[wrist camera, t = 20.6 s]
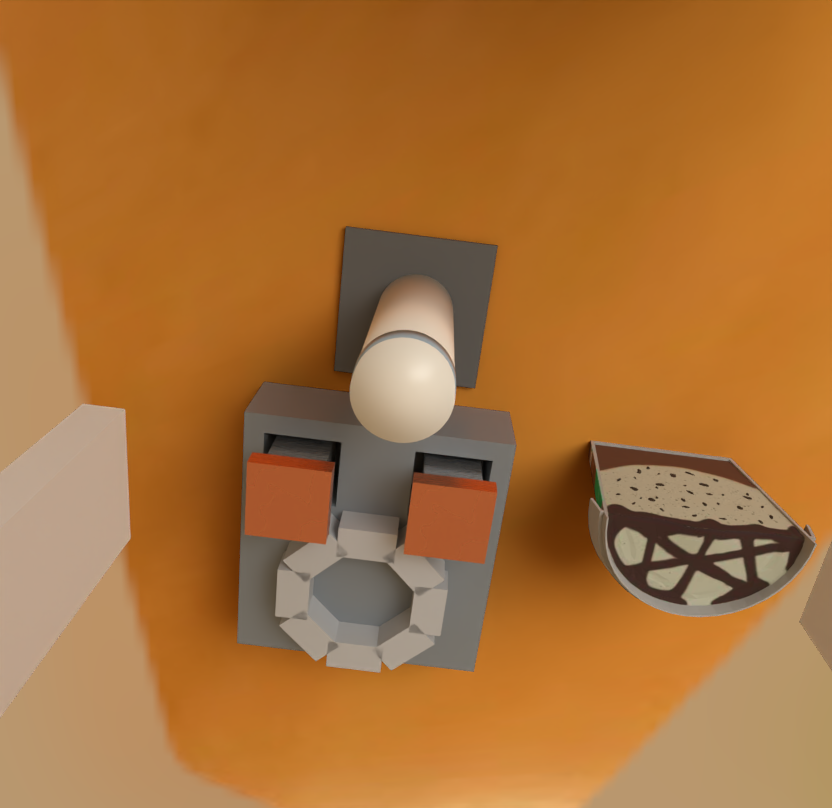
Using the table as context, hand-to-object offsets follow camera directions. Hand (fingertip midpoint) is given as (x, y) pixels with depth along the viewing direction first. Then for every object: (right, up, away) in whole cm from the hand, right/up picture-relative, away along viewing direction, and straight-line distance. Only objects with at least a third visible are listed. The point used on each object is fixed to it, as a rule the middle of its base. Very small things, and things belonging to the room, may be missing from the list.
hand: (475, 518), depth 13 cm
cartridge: (-1, +8, +31) cm, 32 cm away
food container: (+15, -4, +36) cm, 39 cm away
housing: (-4, -5, +37) cm, 37 cm away
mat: (-1, +8, +32) cm, 33 cm away
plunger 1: (-8, -1, +33) cm, 34 cm away
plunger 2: (+1, -2, +33) cm, 33 cm away
